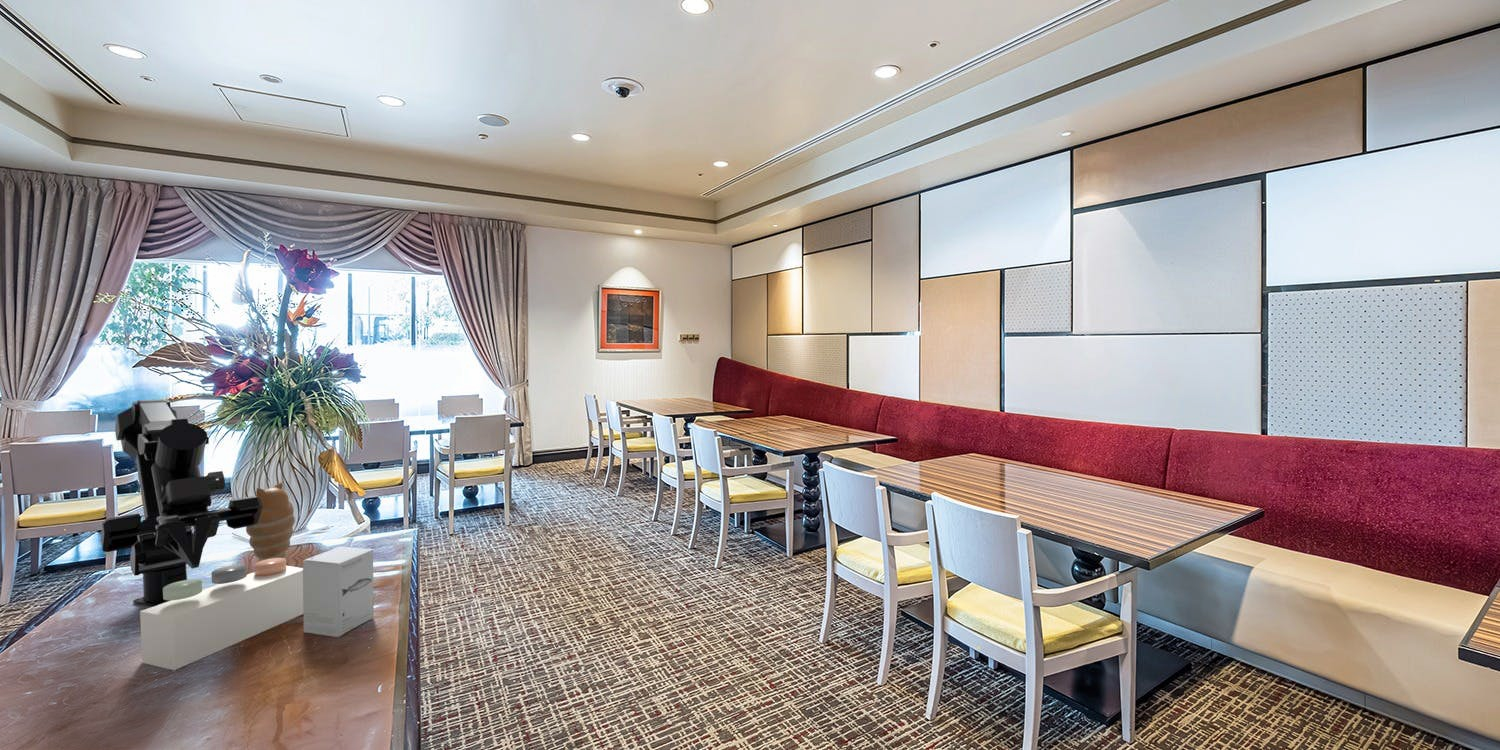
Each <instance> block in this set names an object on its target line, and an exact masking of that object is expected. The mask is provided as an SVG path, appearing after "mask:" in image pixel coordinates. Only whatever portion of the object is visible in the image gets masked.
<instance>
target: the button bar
mask: <svg viewBox="0 0 1500 750" xmlns="http://www.w3.org/2000/svg"><path fill="white" fill-rule="evenodd" d="M302 615H304V612H303V567H297V566H292V565H291V566H290V565H286V569H285V570H284V571H282V572H279V573H275V574H271V575H255V572H250V573H247V576H246V577H245V578H243V579H241V580H238V581H235V582H231V583H224V584H216V585H215V584H214V585H212V586H210V587H207V588H204V589H202V592H201V593H199V594H197V595H195V596H192V597H189V598H185V599H179V600H171V601H168V602H165V603H163V604H160V605H157V606H154V607H151V606H150V607H148V608H146V609H142V610H139V617H140V618H139V619H140V643H141V644H140V646H141V663H142V664H147V665H151V666H155V667H159V668H164V669H167V670H170V671H171V670H172V671H177V670H178V669H180V668H182V667H185V666H187V665H188V666H189V665H190V664H191V663H195V662H196V661H197V662H198V661H199V660H201V659H203V658H206V657H208V656H210V655H213V654H215V653H218V652H219V651H222V650H224V649H226V648H229V647H230V646H234V645H236V644H238V643H240V642H243V641H245V640H246V639H249V638H251V637H254V636H256V635H258V634H261V633H263V632H265V631H267V630H269V629H272V628H274V627H277V626H279V625H281V624H283V623H286V622H288V621H291V620H293V619H296V618H298V617H300V616H302Z"/></svg>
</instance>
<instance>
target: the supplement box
mask: <svg viewBox="0 0 1500 750" xmlns="http://www.w3.org/2000/svg"><path fill="white" fill-rule="evenodd" d="M302 568H303V612H304V614H303V633H306V634H311V635H319V636H327V637H334V638H339V637H341V636H342V635H345V634H346V633H347V632H349V631H352V630H353V629H355V628H357V627H358V626H360V625H362V624H364V623H366V622H368V621H370V620H372V619H373V618H374V613H375V612H374V605H375V604H374V602H375V601H374V549H372V548H371V549H370V548H361V547H347V546H337V547H335V548H333V549H331V550H327V551H325V552H321V553H319V554H317V555H314V556H311V557H308V558H307V559H303V560H302Z"/></svg>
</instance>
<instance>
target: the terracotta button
mask: <svg viewBox="0 0 1500 750" xmlns="http://www.w3.org/2000/svg"><path fill="white" fill-rule="evenodd" d="M253 565H254V568H253V570H254V572H255V575H271V574H275V573H279V572H282V571H284V570H285V569H286V566H287V558H286V557H285V558H271V559H266V560H262V561H259V560H258V562H256V563H254V564H253Z"/></svg>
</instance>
